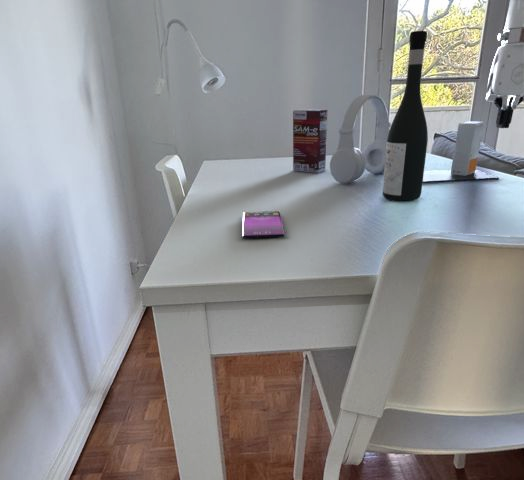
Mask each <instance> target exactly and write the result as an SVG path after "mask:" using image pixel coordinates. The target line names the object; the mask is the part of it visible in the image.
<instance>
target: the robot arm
mask: <svg viewBox="0 0 524 480" xmlns="http://www.w3.org/2000/svg"><path fill="white" fill-rule="evenodd" d="M496 39H497V40H496V41H500V45H501V46H498V48H497V50H496V53H495V56H494V58H493V61H492V65H491V68H490V72H489V76H488V81H487V85H486V95H485V98H484V99H485V101H487V102H490V103H493V104H494V106H496V110H497V114H496V118H495V127H496V128H497V129H509V128H510V124H512V119H513V116H514V115H513V114H514V110H516V109H517V107H518V106H519V105H520V104H522V103H523V102H524V0H509V5H508V9H507V15H506V20H505V25H504V29H503V32H502V33H498V35H497V38H496Z"/></svg>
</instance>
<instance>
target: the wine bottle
mask: <svg viewBox="0 0 524 480" xmlns="http://www.w3.org/2000/svg"><path fill="white" fill-rule="evenodd" d="M427 40H428V31H426V30H414V31H411V32H410V33H409V42H408V43H409V52H408V63H407V72H406V73H407V74H406V82H405V89H404V93H403V96H402V99H401V101H400V104H399V107H398V108H397V111H396V113H395V115H394V118H393V120H392V122H391V127H390V130H389V134H388V139H387V146H386V157H385V169H384V173H383V180H382V181H383V182H382V196H383V198H384V199H385V200H387V201H391V202H399V203H407V202H409V203H410V202H413V201H416V200H418V199H419V198H420V197H421V195H422V189H423V184H424V183H423V175H424V171H425V167H426V159H427V151H428V150H427V149H428V143H429V131H428V130H429V129H428V123H427V119H426V115H425V110H424V107H423V101H422V94H421V93H422V92H421V83H422V73H423V64H424V57H425V56H424V55H425V48H426V43H427ZM422 183H423V184H422Z"/></svg>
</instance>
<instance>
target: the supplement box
mask: <svg viewBox="0 0 524 480" xmlns="http://www.w3.org/2000/svg"><path fill="white" fill-rule="evenodd" d="M292 124H293V125H292V139H293V140H292V147H293V149H292V153H293V154H292V171H293V172H301V173H302V172H303V173H304V172H305V173H315V174H320V173H322V172H326V166H327V165H326V161H327V135H328V109H304V108H303V109H295V110H293V111H292Z"/></svg>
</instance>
